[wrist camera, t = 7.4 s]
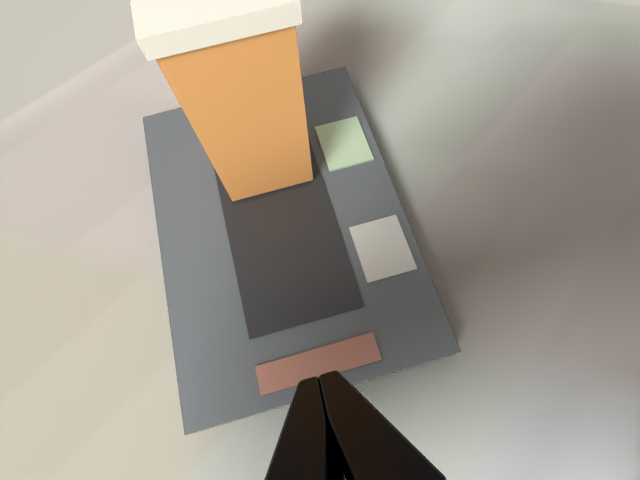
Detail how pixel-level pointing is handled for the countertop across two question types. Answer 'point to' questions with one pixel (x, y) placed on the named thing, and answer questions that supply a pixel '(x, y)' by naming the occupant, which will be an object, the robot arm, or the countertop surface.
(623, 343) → the countertop surface
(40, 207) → the countertop surface
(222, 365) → the switch board
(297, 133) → the lidded box
